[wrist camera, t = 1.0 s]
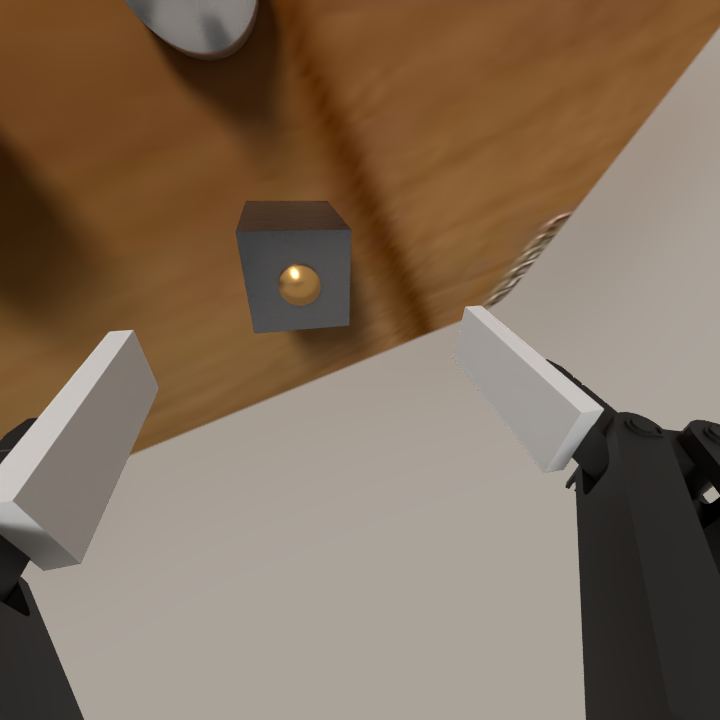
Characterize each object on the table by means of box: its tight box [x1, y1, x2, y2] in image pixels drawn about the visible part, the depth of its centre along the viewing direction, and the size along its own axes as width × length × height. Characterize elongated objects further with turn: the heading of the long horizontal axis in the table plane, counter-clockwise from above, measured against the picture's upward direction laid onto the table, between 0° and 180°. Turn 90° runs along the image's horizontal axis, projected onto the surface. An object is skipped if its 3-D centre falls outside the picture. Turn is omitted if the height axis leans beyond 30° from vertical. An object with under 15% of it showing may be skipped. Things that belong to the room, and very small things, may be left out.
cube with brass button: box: [236, 201, 351, 333], centre depth 22 cm, size 6×6×9 cm
